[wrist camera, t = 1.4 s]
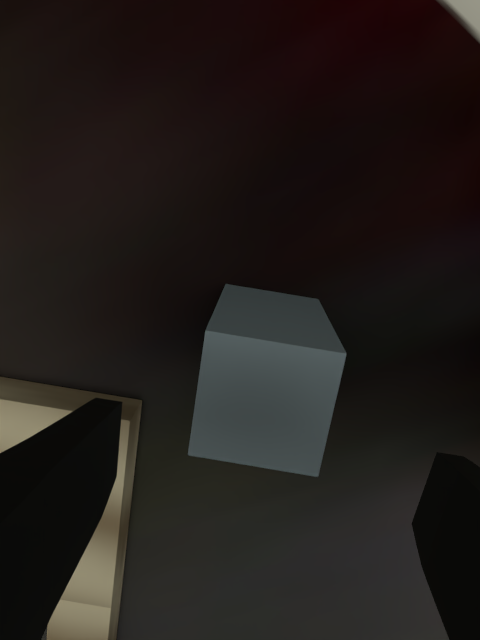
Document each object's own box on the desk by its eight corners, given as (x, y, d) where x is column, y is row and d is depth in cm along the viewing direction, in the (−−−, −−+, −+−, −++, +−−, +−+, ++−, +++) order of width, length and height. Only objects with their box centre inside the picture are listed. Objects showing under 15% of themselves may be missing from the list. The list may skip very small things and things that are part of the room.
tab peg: (300, 384, 21) (317, 476, 14) (212, 370, 21) (187, 455, 14) (318, 299, 20) (346, 353, 13) (225, 283, 20) (205, 330, 13)
